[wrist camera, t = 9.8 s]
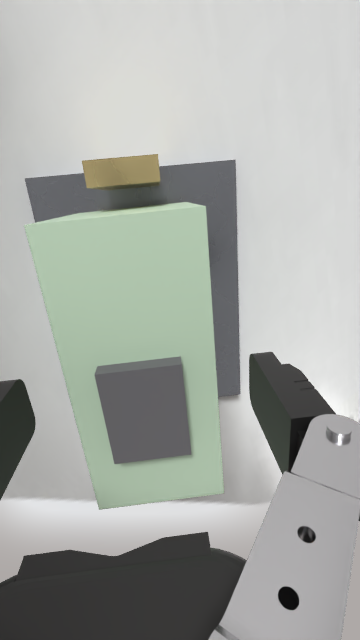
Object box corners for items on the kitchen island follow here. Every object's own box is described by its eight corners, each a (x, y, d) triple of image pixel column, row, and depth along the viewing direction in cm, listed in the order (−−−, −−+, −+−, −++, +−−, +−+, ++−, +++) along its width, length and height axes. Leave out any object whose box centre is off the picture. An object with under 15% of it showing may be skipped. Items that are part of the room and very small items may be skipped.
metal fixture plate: (31, 179, 19) (-34, 171, 13) (231, 161, 19) (269, 144, 13) (83, 404, 25) (58, 477, 18) (237, 386, 25) (264, 453, 19)
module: (77, 213, 16) (15, 227, 9) (186, 201, 16) (208, 206, 9) (117, 410, 21) (96, 522, 13) (202, 399, 21) (226, 505, 14)
